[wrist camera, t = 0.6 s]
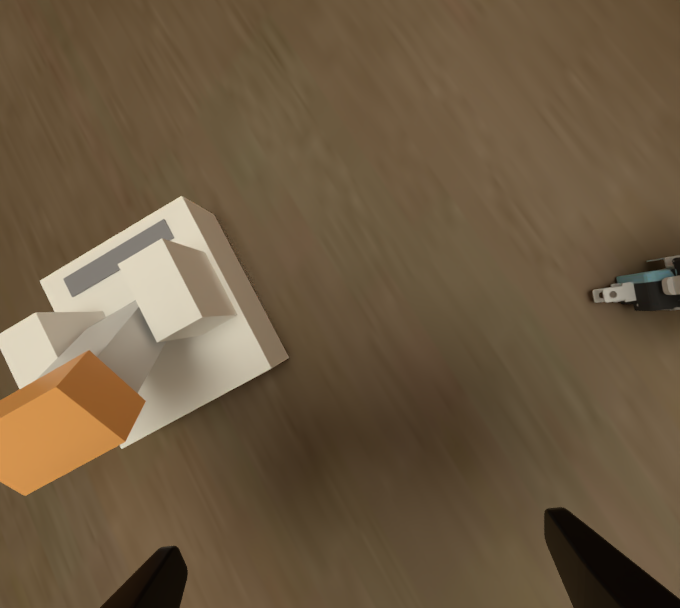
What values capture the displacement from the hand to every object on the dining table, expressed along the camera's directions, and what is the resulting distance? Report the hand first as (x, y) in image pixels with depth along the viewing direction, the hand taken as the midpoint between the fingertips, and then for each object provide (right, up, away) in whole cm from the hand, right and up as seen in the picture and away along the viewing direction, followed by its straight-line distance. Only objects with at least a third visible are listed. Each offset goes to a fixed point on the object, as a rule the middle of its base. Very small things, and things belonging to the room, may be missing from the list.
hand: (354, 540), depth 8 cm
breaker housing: (-11, +5, +15) cm, 19 cm away
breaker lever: (-11, +5, +10) cm, 16 cm away
